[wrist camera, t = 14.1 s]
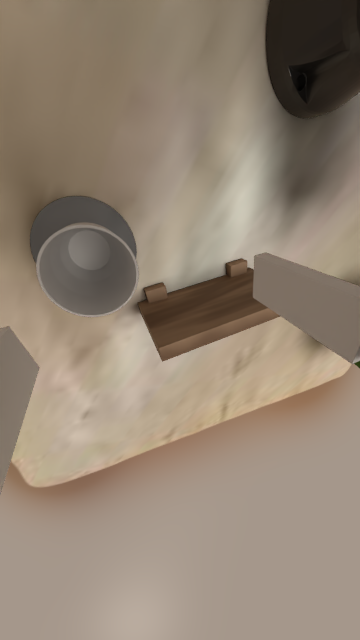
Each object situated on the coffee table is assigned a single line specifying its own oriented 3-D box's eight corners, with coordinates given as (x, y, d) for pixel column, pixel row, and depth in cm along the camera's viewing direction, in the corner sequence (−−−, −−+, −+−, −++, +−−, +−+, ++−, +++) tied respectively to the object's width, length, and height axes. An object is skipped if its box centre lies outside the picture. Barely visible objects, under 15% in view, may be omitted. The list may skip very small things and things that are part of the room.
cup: (111, 289, 30) (121, 325, 22) (45, 269, 26) (27, 304, 18) (132, 232, 27) (151, 249, 19) (61, 200, 23) (48, 204, 15)
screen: (134, 291, 32) (154, 333, 22) (249, 256, 36) (309, 279, 26) (144, 323, 35) (165, 373, 25) (248, 288, 39) (301, 319, 30)
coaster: (7, 208, 23) (5, 208, 22) (119, 186, 25) (120, 186, 25) (60, 306, 29) (60, 307, 29) (145, 281, 32) (146, 282, 31)
